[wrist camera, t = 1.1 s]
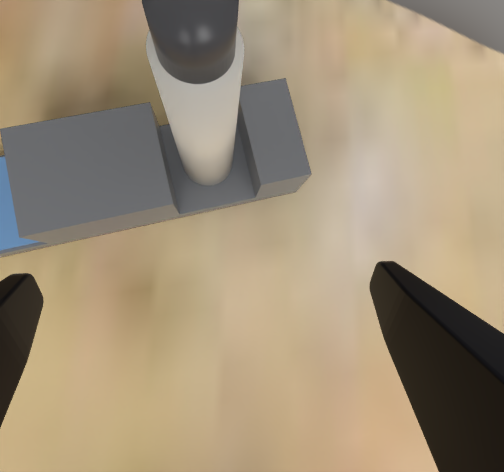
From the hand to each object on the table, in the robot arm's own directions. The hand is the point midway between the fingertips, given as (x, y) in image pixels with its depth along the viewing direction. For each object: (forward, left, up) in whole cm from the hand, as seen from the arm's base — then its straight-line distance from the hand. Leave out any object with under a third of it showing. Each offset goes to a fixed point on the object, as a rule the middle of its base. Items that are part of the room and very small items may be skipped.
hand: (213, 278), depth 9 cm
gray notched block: (+2, +9, -13) cm, 16 cm away
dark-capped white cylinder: (+6, +4, -12) cm, 14 cm away
